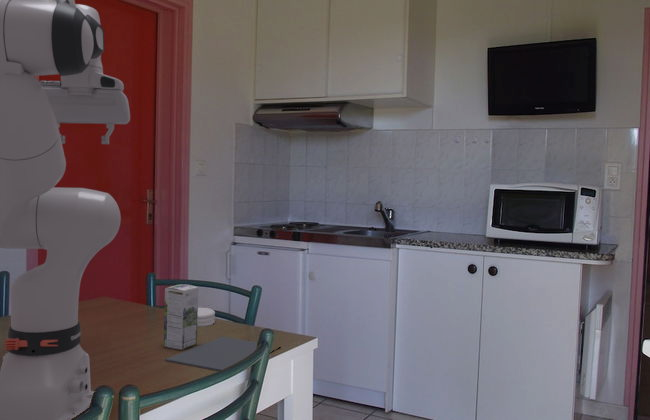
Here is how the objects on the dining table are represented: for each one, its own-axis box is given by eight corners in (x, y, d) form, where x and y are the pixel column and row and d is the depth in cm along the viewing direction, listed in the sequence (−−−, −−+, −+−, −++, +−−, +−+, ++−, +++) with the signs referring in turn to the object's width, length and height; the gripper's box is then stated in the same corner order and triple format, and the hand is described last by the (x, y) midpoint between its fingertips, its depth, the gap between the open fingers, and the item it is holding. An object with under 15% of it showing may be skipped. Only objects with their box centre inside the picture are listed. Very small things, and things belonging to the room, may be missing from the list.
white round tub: (175, 320, 180) (175, 308, 180) (211, 318, 184) (211, 306, 184) (181, 329, 171) (181, 316, 171) (218, 326, 175) (218, 313, 174)
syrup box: (178, 341, 158) (179, 283, 157) (198, 345, 156) (198, 285, 155) (163, 347, 153) (163, 287, 152) (183, 350, 151) (183, 289, 150)
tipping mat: (165, 360, 142) (165, 359, 142) (222, 338, 162) (222, 336, 162) (229, 373, 135) (229, 371, 135) (281, 347, 155) (281, 346, 155)
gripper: (28, 78, 138) (30, 142, 139) (127, 80, 142) (128, 143, 143) (36, 82, 144) (37, 143, 145) (130, 84, 148) (131, 144, 149)
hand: (83, 143), depth 144 cm, fingers open, 8 cm apart
